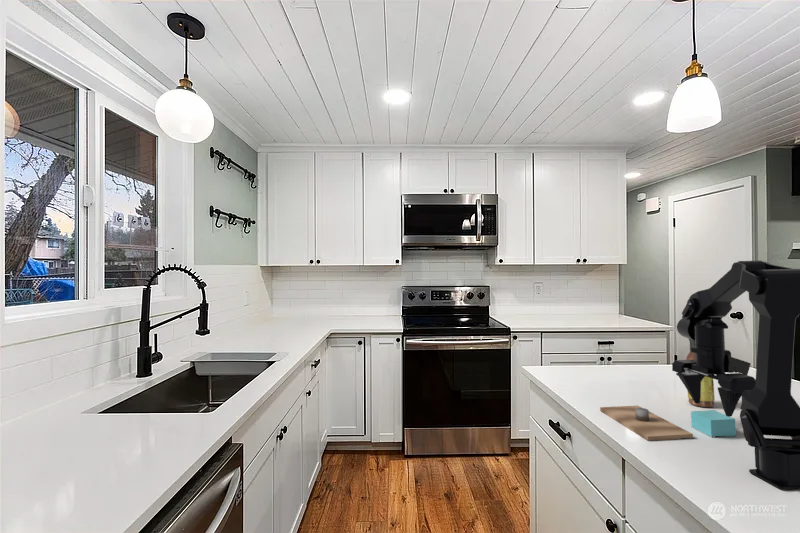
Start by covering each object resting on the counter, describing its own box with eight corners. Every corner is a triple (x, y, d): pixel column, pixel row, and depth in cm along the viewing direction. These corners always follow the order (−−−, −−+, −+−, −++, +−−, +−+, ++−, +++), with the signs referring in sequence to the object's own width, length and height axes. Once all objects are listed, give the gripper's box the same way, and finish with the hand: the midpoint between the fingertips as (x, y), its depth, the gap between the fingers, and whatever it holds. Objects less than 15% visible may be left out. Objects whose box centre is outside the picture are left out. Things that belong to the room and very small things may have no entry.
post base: (693, 438, 94) (692, 423, 94) (647, 440, 93) (647, 425, 93) (637, 408, 114) (637, 396, 114) (600, 410, 113) (599, 398, 113)
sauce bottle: (719, 408, 112) (716, 337, 112) (694, 407, 113) (691, 337, 113) (706, 401, 118) (704, 333, 118) (683, 400, 119) (680, 333, 120)
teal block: (735, 435, 94) (735, 418, 94) (711, 437, 94) (710, 420, 94) (714, 426, 100) (713, 410, 100) (691, 427, 100) (690, 411, 100)
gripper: (779, 351, 88) (782, 422, 88) (709, 337, 107) (712, 396, 107) (731, 353, 88) (734, 424, 87) (669, 339, 106) (671, 398, 106)
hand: (712, 409), depth 97 cm, fingers open, 9 cm apart
